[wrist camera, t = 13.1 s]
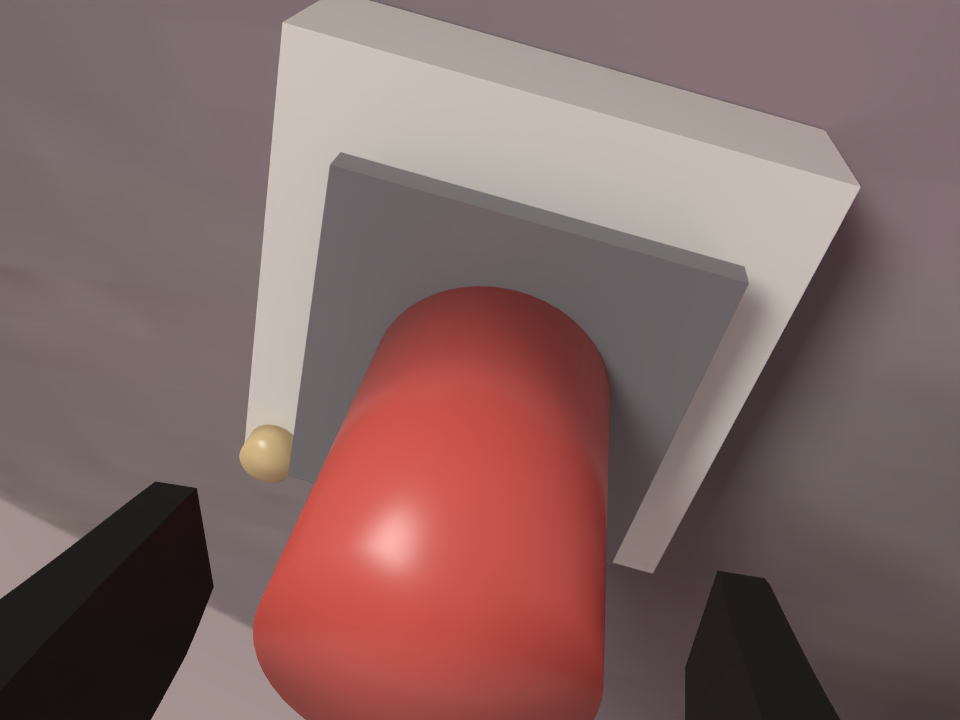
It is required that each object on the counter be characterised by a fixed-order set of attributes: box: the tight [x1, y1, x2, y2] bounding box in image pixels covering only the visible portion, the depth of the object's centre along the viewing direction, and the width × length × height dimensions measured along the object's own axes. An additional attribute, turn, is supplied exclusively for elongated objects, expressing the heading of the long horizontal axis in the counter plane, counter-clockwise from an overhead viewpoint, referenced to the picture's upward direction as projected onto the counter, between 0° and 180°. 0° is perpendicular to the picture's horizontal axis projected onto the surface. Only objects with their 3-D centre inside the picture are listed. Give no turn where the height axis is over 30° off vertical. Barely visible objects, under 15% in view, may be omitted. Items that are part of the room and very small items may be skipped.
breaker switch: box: [288, 152, 749, 566], centre depth 17 cm, size 7×7×4 cm
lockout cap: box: [253, 286, 610, 720], centre depth 13 cm, size 4×4×6 cm
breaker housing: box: [239, 0, 860, 574], centre depth 17 cm, size 10×10×4 cm
